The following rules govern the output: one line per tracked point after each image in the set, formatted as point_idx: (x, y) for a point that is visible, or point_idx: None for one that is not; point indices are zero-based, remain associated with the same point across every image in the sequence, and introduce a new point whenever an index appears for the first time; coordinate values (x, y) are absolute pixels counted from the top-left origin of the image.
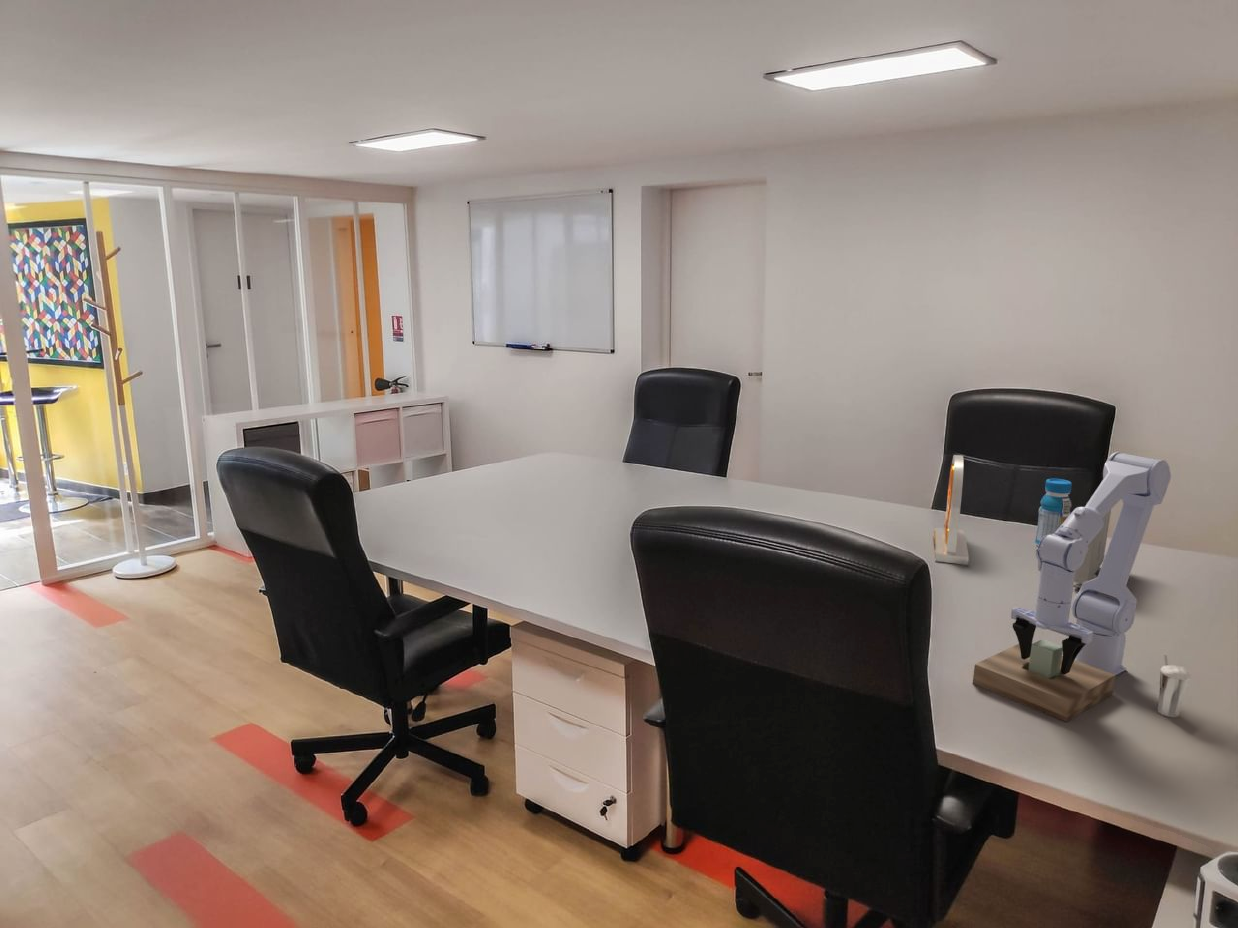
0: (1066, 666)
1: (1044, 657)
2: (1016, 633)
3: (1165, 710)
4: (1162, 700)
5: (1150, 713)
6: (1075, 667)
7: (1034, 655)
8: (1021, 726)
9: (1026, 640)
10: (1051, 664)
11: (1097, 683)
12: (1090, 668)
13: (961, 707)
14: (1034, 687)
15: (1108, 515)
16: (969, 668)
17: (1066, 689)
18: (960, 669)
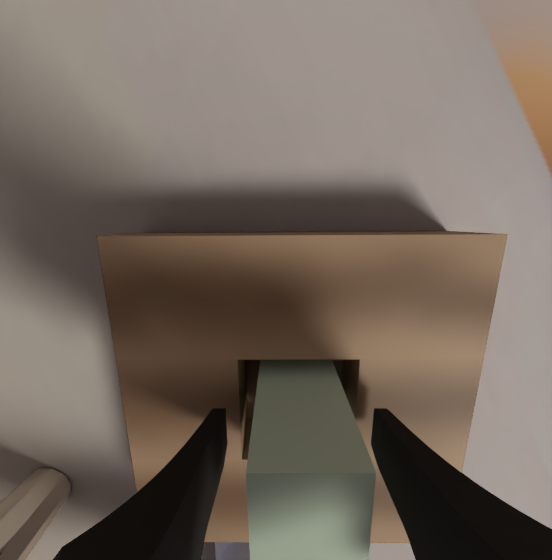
0: (193, 434)
1: (287, 427)
2: (509, 508)
3: (31, 480)
4: (18, 506)
5: (68, 454)
6: (242, 501)
7: (336, 422)
8: (199, 77)
9: (422, 497)
10: (254, 413)
11: (136, 451)
12: (211, 527)
13: (394, 16)
14: (240, 239)
15: None
16: (497, 318)
17: (162, 325)
18: (516, 289)
